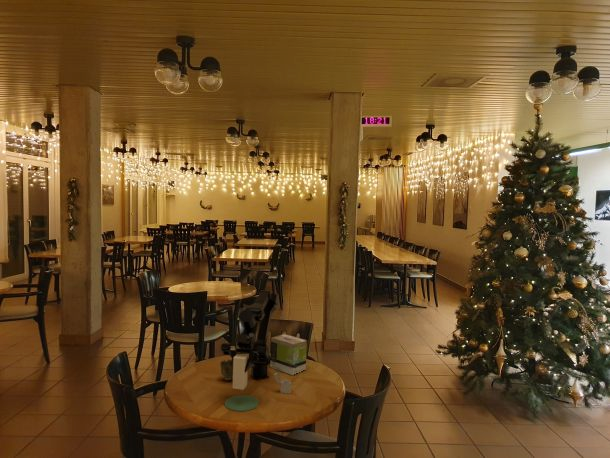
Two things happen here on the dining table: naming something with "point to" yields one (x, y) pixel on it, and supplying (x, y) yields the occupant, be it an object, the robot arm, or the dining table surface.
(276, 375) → the lighter
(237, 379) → the cream block
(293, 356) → the tea box
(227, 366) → the dark grey rounded piece
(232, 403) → the green mat
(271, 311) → the robot arm
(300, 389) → the dining table surface
